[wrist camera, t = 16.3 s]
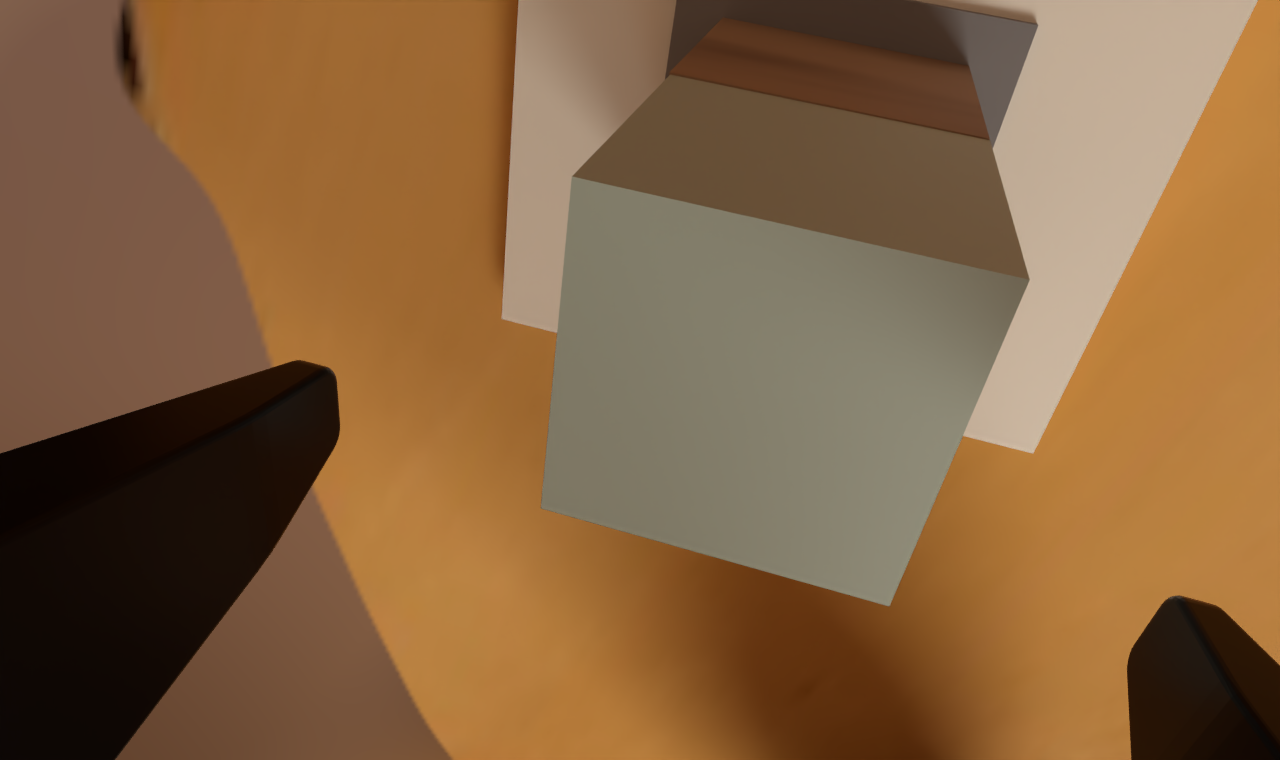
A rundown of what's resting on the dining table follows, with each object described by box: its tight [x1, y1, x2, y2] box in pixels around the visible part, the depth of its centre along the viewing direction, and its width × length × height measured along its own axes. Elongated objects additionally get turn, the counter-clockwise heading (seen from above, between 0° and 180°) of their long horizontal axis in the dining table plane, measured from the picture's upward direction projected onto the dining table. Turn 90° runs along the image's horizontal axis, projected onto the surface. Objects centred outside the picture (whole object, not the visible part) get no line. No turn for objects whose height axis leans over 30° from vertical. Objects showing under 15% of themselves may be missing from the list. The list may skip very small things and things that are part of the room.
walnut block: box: [669, 17, 990, 140], centre depth 17 cm, size 5×5×5 cm
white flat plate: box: [502, 0, 1258, 453], centre depth 19 cm, size 12×14×1 cm
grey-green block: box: [541, 75, 1030, 606], centre depth 13 cm, size 5×5×5 cm
